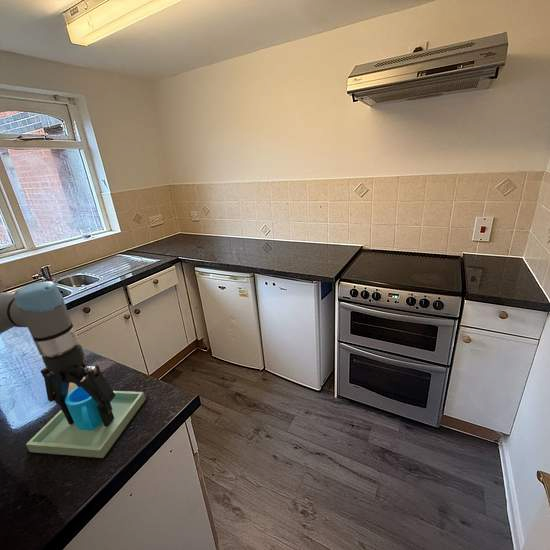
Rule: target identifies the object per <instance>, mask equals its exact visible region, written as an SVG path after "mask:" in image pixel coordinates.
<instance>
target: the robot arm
mask: <svg viewBox="0 0 550 550" xmlns="http://www.w3.org/2000/svg"><path fill="white" fill-rule="evenodd" d="M67 308H68V307H67V305H66V303H65V299H64V297H63V295H62V294H61V292H60V290H59V287H58V286H57V284H56V283H55V282H53V281H41V282H33V283H31V284H27V285H25V286H22V287H20V288H17V290H15V291H14V292H10V291H0V335H2V334H3V333H6V332H7V331H9V330H11V329H14V328H27V329H28V331H29V333H30V335H31V337H32V339H33V342H34V344H35V347H36V349H37V351H38V353H39V355H40V356H41V359H42V361H43V363H44V366H45V367H43V368H42V369H41V370H40V374H41V375H42V378H43V379H44V385H45V391H46V396H47V401H49V402H55V403H56V405H58V406H59V408H60V410H62V412H63V413H64V415H65V417H66V419H67V421H68V423H69V424H71V425H72V423H73V422H74V421H73V419H72V416H71V414H70V412H69V410H68V408H67V405H66V403H65V397H66V396H67V394H68V389H69V383H75V384H76V385H77V386H78V387H82V388H83V389H84V390H85V391H86V392H87V393H88V394H89V395H90V396H91V397H92V398H93V399H94V400H95V401H96V402H97V403H98V406H97V409H98V411H99V414H100V416H101V419H102V421H103V424H104V426H105V427H108V425H109V424H110V423H111V422H112V420H113V419H114V416H113V413H112V406H111V404H110V402H111V401H112V400H113V398H114V397H115V396H116V395H115V393H114V392H113V391H114V390H113V389H112V387H111V386H110V384H109V383H108V381H107V380H106V378H105V377H104V376H103V374H102V372H101V370H100V369H101V368H100V366H99V365H98V364H94V365H93V366H89V365H87V363H85V361H84V358H85V352H84V349H83V346H82V344H81V342H80V341H79V336H78V334H77V332H76V329H75V327H74V324H73V321H72V319H71V316H70V313H69V311H68V309H67ZM84 376H85V377H86V378H85V379H84V380H83V381H82V382H81V380H82V379H83V378H84ZM53 393H54V394H53Z"/></svg>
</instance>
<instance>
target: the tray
mask: <svg viewBox="0 0 550 550" xmlns="http://www.w3.org/2000/svg"><path fill="white" fill-rule="evenodd" d="M113 392H114V393H115V395H116V396H115V397H114V398H113V400H112V401H111V402H110V404H111V406H112V413H113V416H114V419H113V420H112V422H111V423H110V424H109V425H108V427H105V426H104V424H103V423H101V424H100V425H98V426H96V427H95V428H94V429H93V430H92V431H88V430H79V429H78V428H77V427H76V425H75V423H74V422H73V423H72V425H71V424H69V423H68V421H67V419H66V417H65V415H64V413H63V412H62V410H61V409H60V410H59V411H58V412H57V413H56V414H55V415H53V417H52V418H51V419H50V420H49V421H48V422H47V423H46V424H45V425H44V426H42V428H41V429H40V430H39V431H38V432H36V433H35V434H34V436H33V437H31V438H30V439H29V441H27V443H26V444H25V446H26V448H27V450H28V451H29V453H37V454H50V455H59V456H60V455H61V456H74V457H85V458H98V459H104V458H105V456H106V455H107V454H108V453H109V452H110V450H111V448H112V447H113V445H114V444H115V443H116V441H118V439H119V437H120V436H121V435H122V433H123V432H124V430H125V429H126V427H127V426H128V425H129V423H130V422H131V420H132V419H133V418H134V416H135V415H136V413H138V411H139V410H140V408H141V406H142V405H143V404H144V403H145V402H146V400H147V398H146V395H145V392H144V391H127V390H125V391H124V390H113Z"/></svg>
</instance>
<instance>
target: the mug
mask: <svg viewBox="0 0 550 550" xmlns="http://www.w3.org/2000/svg"><path fill="white" fill-rule="evenodd" d="M65 403H66V405H67V408H68V410H69V412H70V414H71V416H72V419H73V421H74V423H75V425H76V427H77V428H78V429H79V430H88V431H92V430H93V429H94V428H95V427H96V426H98V425H100V424H101V423H103V421H102V419H101V416H100V414H99V411H98V409H97V406H98V403H97V402H96V401H95V400H94V399H93V398H92V397H91V396H90V395H89V394H88V393H87V392H86V391H85V390H84V389H83V388H82V387H78V386H77V387H76V388H74V389H73V390H71V391H70V392H69V393H68V394H67V396H66V397H65Z"/></svg>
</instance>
